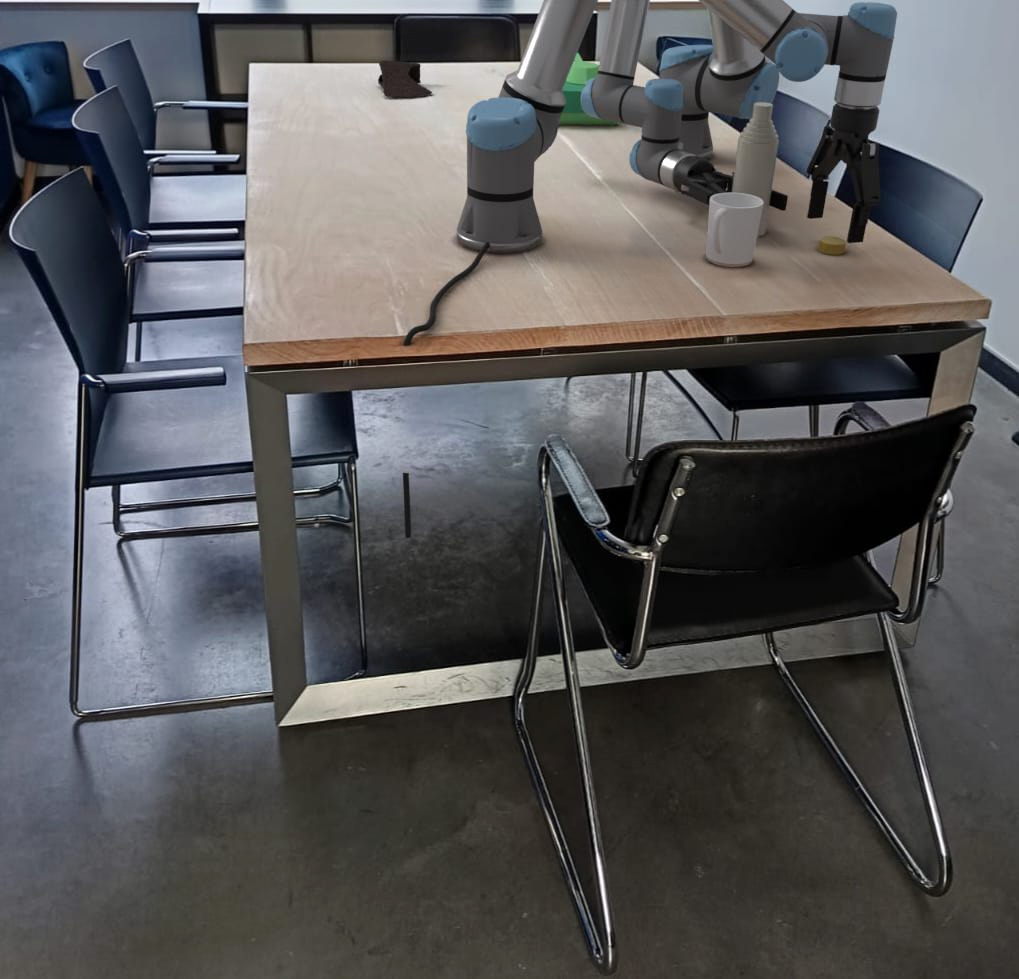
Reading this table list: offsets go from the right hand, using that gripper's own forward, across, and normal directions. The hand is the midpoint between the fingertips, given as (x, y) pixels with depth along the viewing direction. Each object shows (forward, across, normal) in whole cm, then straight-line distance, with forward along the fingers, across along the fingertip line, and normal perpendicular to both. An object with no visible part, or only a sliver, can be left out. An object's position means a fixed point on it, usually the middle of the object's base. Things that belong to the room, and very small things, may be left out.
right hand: (768, 206), depth 197 cm
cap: (+11, -6, -4) cm, 13 cm away
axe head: (-141, +4, -6) cm, 141 cm away
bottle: (-5, 0, -6) cm, 8 cm away
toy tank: (-99, -26, -6) cm, 103 cm away
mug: (+6, +14, -6) cm, 17 cm away
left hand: (+10, -6, -2) cm, 12 cm away
